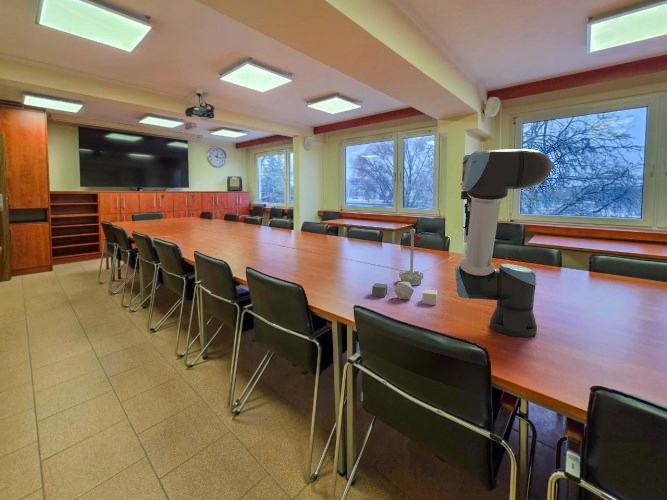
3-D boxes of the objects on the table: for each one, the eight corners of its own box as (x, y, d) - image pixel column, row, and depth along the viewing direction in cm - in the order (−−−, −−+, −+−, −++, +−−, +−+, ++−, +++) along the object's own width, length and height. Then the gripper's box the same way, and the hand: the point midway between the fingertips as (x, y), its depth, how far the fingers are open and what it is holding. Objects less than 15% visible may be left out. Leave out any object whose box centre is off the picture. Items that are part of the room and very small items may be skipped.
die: (409, 304, 152) (419, 285, 153) (392, 294, 152) (402, 276, 154) (405, 304, 160) (414, 287, 161) (389, 295, 160) (399, 278, 162)
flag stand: (397, 284, 180) (399, 229, 175) (400, 278, 192) (401, 227, 187) (422, 286, 176) (424, 230, 171) (423, 280, 189) (425, 227, 184)
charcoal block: (384, 297, 159) (384, 287, 158) (372, 296, 162) (372, 286, 161) (387, 294, 165) (387, 284, 164) (375, 292, 167) (375, 283, 166)
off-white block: (435, 305, 148) (436, 294, 147) (422, 303, 150) (422, 293, 149) (437, 301, 154) (437, 290, 153) (423, 299, 156) (424, 289, 155)
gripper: (461, 190, 157) (459, 240, 161) (460, 190, 145) (457, 244, 149) (479, 190, 154) (476, 240, 158) (479, 190, 142) (475, 245, 146)
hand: (467, 242), depth 153 cm, fingers closed
